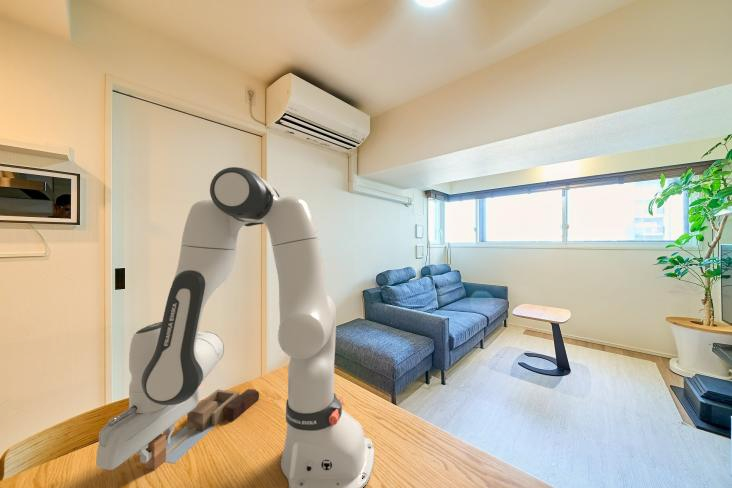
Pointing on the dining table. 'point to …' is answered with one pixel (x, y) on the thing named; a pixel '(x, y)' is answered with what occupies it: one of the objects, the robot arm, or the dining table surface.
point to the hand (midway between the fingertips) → (155, 452)
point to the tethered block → (195, 422)
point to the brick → (240, 404)
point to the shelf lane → (222, 399)
